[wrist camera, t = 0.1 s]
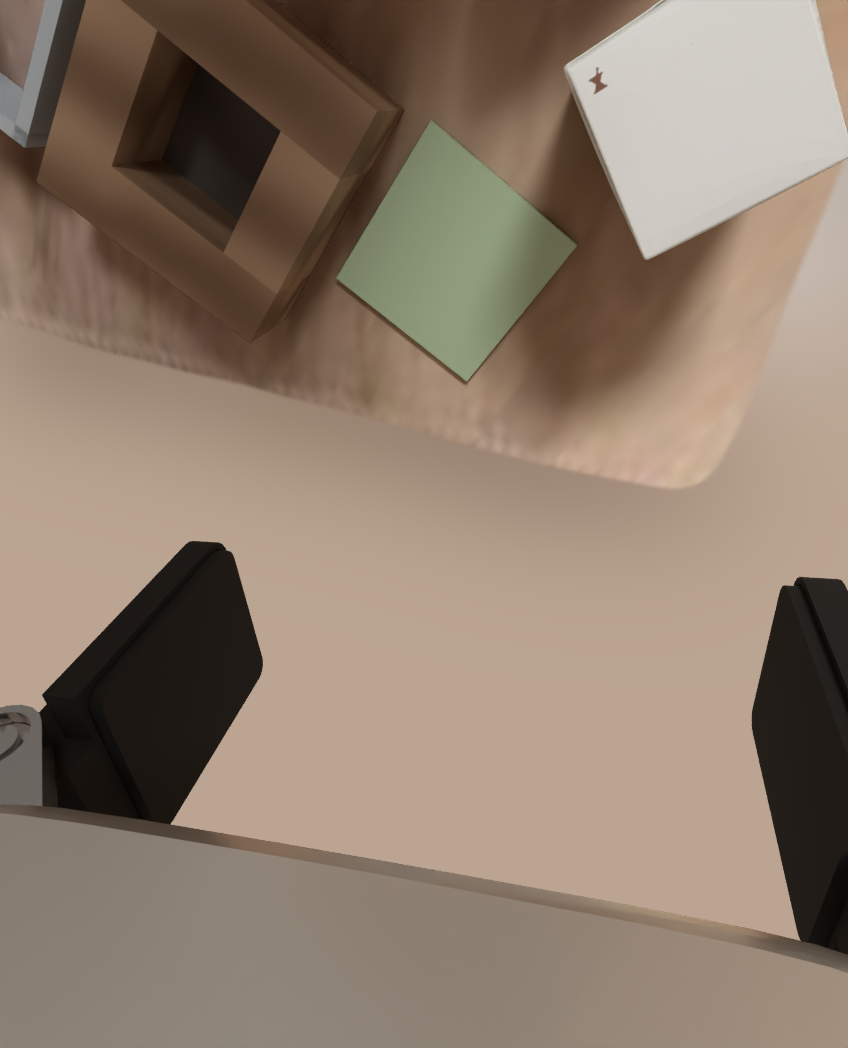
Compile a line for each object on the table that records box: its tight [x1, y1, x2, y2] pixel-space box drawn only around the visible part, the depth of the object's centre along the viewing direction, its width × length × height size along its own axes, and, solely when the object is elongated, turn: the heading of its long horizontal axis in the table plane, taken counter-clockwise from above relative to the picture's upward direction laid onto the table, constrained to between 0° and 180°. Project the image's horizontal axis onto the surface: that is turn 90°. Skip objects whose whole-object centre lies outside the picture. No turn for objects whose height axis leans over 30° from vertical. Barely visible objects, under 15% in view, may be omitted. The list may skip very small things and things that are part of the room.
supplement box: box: [564, 0, 848, 260], centre depth 27 cm, size 7×7×13 cm
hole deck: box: [36, 0, 404, 343], centre depth 36 cm, size 14×14×5 cm
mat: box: [336, 120, 577, 381], centre depth 39 cm, size 10×10×1 cm
